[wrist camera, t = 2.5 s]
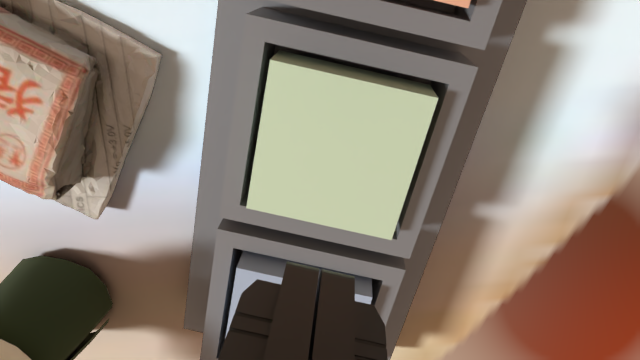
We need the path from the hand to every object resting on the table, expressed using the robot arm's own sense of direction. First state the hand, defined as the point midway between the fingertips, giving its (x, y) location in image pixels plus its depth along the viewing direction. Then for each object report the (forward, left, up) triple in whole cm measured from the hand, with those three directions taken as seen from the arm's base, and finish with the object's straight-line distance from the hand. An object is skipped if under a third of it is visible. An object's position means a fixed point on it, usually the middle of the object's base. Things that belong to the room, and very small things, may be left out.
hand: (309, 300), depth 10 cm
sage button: (0, 0, -10) cm, 10 cm away
